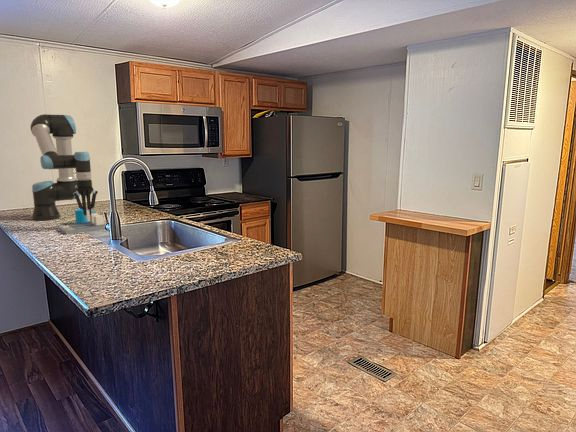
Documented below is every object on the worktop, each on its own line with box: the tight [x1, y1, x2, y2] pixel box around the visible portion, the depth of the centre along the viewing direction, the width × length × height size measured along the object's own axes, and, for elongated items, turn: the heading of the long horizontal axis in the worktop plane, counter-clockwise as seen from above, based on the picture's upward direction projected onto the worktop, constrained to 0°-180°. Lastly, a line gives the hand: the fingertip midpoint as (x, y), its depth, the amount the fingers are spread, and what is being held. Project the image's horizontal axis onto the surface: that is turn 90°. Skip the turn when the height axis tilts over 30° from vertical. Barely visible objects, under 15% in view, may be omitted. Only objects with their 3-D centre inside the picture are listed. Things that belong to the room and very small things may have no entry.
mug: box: [74, 208, 97, 224], centre depth 245 cm, size 12×8×8 cm
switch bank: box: [57, 220, 107, 236], centre depth 229 cm, size 14×26×2 cm, turn 134°
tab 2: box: [93, 214, 105, 226], centre depth 229 cm, size 4×4×5 cm
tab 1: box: [90, 212, 100, 223], centre depth 235 cm, size 4×4×5 cm
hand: (88, 220), depth 232 cm, fingers closed
